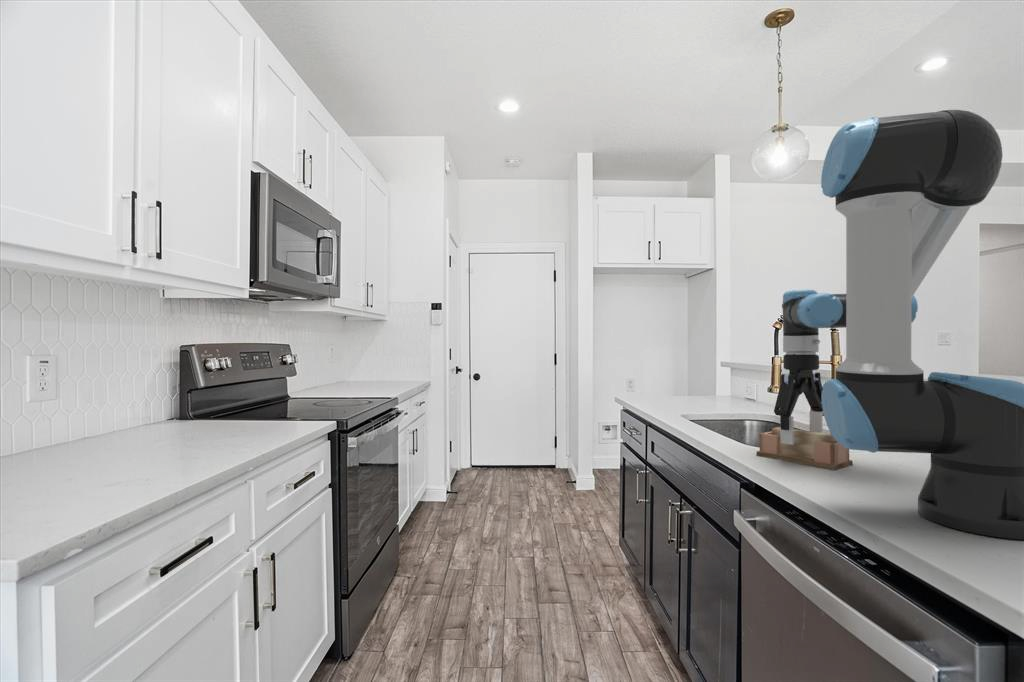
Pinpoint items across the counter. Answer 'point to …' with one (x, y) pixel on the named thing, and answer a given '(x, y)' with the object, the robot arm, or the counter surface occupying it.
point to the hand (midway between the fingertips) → (802, 440)
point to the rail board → (803, 460)
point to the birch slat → (803, 442)
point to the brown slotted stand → (821, 449)
